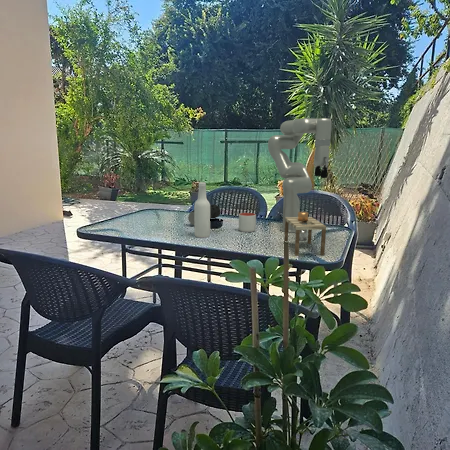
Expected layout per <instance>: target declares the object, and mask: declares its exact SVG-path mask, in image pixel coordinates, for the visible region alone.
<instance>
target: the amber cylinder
mask: <svg viewBox="0 0 450 450" xmlns="http://www.w3.org/2000/svg"><path fill="white" fill-rule="evenodd" d="M308 217H309V212H308V211H299V212H298V221H302V225H306V223H305V221H308ZM305 241H306V242H307V241H308V230H300V238H299V242H305Z"/></svg>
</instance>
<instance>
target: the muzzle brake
mask: <svg viewBox="0 0 450 450" xmlns="http://www.w3.org/2000/svg"><path fill="white" fill-rule="evenodd" d="M219 216H221V208H220V206H218V204H210V219H211V218H215V219H217V218H218V217H219ZM187 218H188V222H189V224H191V225H192V226H194V209H193V210H191V211H190V212H189V214H188V215H187Z"/></svg>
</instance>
